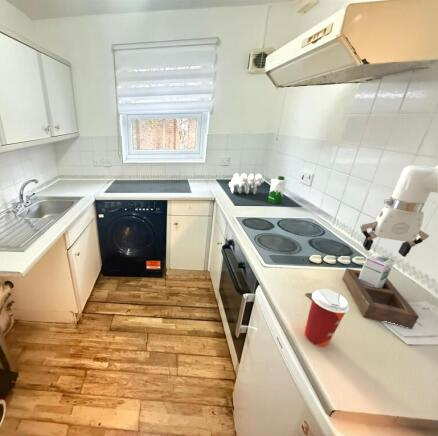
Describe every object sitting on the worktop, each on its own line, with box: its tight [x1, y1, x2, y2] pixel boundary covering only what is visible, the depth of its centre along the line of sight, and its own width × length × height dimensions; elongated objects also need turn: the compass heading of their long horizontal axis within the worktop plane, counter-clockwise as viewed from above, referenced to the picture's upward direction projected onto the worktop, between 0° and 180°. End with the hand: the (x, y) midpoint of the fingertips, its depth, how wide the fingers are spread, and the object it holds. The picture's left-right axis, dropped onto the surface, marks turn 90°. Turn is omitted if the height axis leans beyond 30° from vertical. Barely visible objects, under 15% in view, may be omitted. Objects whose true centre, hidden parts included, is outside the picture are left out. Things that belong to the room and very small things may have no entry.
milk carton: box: [266, 175, 288, 206], centre depth 179 cm, size 9×9×20 cm
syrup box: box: [358, 253, 395, 288], centre depth 86 cm, size 6×6×14 cm
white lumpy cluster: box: [228, 172, 265, 195], centre depth 202 cm, size 18×18×25 cm
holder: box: [342, 268, 420, 330], centre depth 83 cm, size 12×22×5 cm, turn 157°
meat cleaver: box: [304, 292, 314, 300], centre depth 82 cm, size 12×1×5 cm
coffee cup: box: [304, 288, 350, 347], centre depth 67 cm, size 8×8×15 cm
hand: (383, 251), depth 82 cm, fingers open, 9 cm apart
